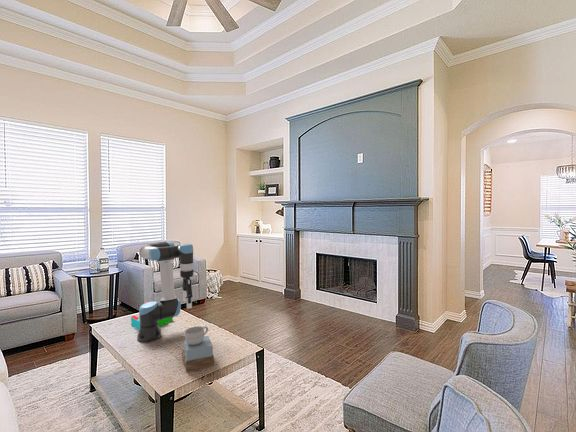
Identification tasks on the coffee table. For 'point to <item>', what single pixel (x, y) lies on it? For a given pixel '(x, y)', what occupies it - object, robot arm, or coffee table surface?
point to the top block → (198, 349)
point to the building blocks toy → (136, 321)
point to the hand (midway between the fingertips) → (187, 304)
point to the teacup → (195, 335)
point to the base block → (197, 363)
